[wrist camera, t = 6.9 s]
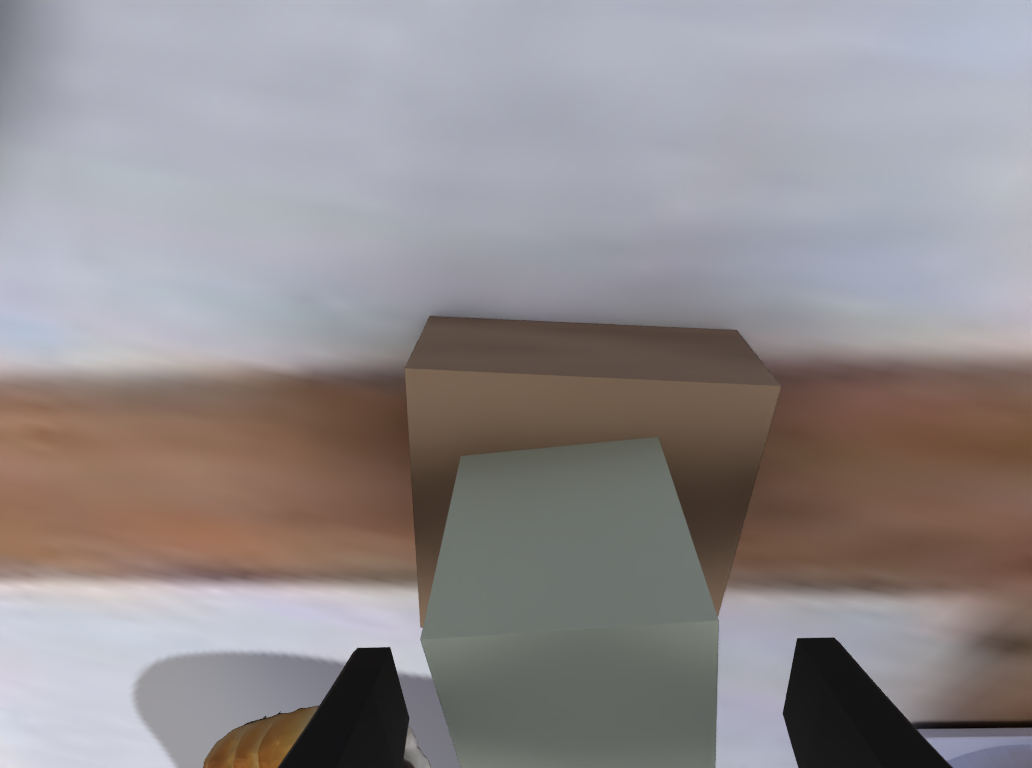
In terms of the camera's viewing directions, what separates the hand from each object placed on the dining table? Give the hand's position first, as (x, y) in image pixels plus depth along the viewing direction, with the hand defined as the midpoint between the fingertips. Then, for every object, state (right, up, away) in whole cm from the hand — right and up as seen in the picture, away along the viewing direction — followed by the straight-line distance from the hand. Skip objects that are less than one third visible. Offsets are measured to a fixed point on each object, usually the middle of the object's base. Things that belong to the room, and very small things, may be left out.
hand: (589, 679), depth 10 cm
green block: (0, +2, +4) cm, 4 cm away
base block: (0, +4, +7) cm, 8 cm away
